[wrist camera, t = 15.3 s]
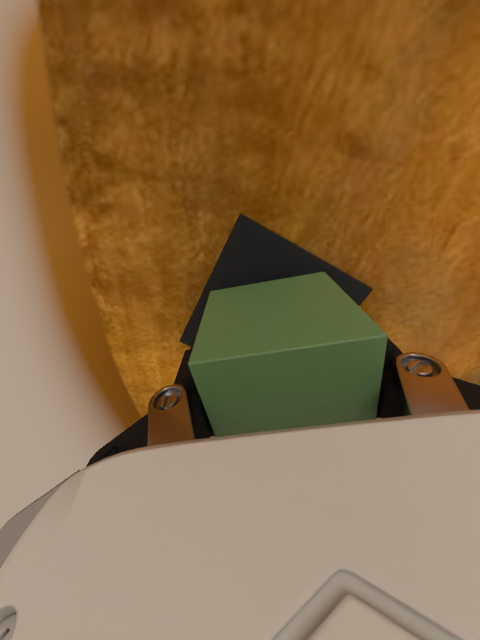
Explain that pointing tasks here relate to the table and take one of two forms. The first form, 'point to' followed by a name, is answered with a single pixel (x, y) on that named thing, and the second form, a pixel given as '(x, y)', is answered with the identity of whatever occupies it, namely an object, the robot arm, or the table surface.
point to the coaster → (265, 267)
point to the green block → (286, 357)
